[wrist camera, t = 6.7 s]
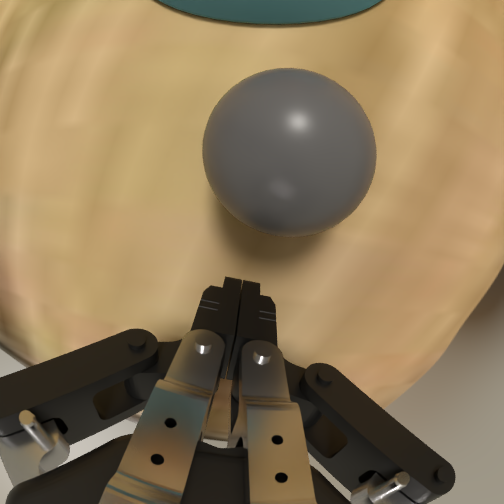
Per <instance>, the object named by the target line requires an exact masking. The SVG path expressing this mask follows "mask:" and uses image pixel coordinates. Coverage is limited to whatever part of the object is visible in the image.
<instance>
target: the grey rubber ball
mask: <svg viewBox="0 0 504 504" xmlns="http://www.w3.org/2000/svg"><path fill="white" fill-rule="evenodd" d="M203 163H204V168H205V173H206V176H207V179H208V181H209V184H210V186H211V188H212V190H213V192H214V194H215V195H216V197H217V198H218V200H219V201H220V202H221V204H222V205H223V206H224V207H225V208H226V209H227V210H228V211H229V212H230V213H231V214H232V215H233V216H234V217H235V218H237V219H238V220H239V221H241V222H242V223H244V224H246V225H247V226H249V227H251V228H253V229H256V230H258V231H261V232H264V233H267V234H271V235H275V236H282V237H302V236H309V235H313V234H316V233H320V232H322V231H325V230H327V229H330V228H332V227H334V226H335V225H337V224H339V223H340V222H341V221H343V220H344V219H345V218H347V217H348V216H349V215H350V214H351V213H352V212H353V211H354V210H355V209H356V208H357V207H358V206H359V204H360V203H361V201H362V200H363V199H364V197H365V196H366V194H367V192H368V190H369V187H370V185H371V183H372V180H373V176H374V173H375V166H376V143H375V138H374V133H373V129H372V127H371V124H370V121H369V119H368V117H367V116H366V114H365V112H364V110H363V108H362V107H361V106H360V104H359V103H358V102H357V100H356V99H355V98H354V97H353V96H352V95H351V94H350V93H349V92H348V91H347V90H346V89H344V88H343V87H342V86H340V85H339V84H338V83H336V82H335V81H333V80H331V79H329V78H328V77H326V76H323V75H321V74H318V73H316V72H312V71H308V70H304V69H296V68H278V69H272V70H266V71H263V72H260V73H257V74H254V75H252V76H250V77H248V78H246V79H244V80H242V81H241V82H239V83H238V84H236V85H235V86H234V87H232V88H231V89H230V90H229V91H228V92H227V93H226V94H225V95H224V96H223V97H222V98H221V100H220V101H219V102H218V104H217V105H216V106H215V108H214V109H213V111H212V113H211V115H210V117H209V120H208V123H207V126H206V129H205V132H204V138H203Z"/></svg>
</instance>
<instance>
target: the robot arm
mask: <svg viewBox="0 0 504 504" xmlns="http://www.w3.org/2000/svg"><path fill="white" fill-rule="evenodd" d="M241 284H242V288H241ZM228 362H229V364H228ZM227 367H228V371H227ZM226 371H227V379H229V380H232V388H231V392H230V395H229V432H228V445H227V448H217V447H214V446H212V445H209V444H207V443H204V442H203V438H204V434H205V430H206V427H207V423H208V419H209V415H210V412H211V408H212V404H213V400H214V397H215V393H216V391H217V390H218V387H219V382H220V378H223V379H225V375H226ZM142 410H144V411H143V413H142V415H141V417H140V419H139V422H138V424H137V426H136V428H135V431H134V433H133V434H128V435H124V436H120V437H118V438H115V439H113V440H111V441H109V442H107V443H105V444H103V445H102V446H100V447H98V448H96V449H94V450H92V451H91V452H88V453H86V454H84V455H82V456H80V457H78V458H76V459H74V460H72V461H70V462H68V463H66V464H64V465H62V466H59V465H60V464H62V463H63V462H65V461H66V459H67V458H68V456H69V452H70V447H69V445H72V444H74V443H76V442H78V441H80V440H83V439H85V438H87V437H89V436H92V435H94V434H96V433H98V432H100V431H102V430H104V429H106V428H108V427H110V426H112V425H114V424H116V423H118V422H120V421H122V420H124V419H126V418H128V417H130V416H132V415H134V414H136V413H138V412H140V411H142ZM307 451H308V452H309V453H310V454H311V455H312V456H313V457H314V458H315V459H316V460H317V461H318V462H319V463H320V464H321V465H322V466H323V467H324V468H325V469H326V470H327V471H328V472H329V473H330V474H331V475H332V476H333V477H335V478H336V479H337V480H338V481H339V482H340V483H341V484H342V485H343V486H344V487H346V488H347V489H348V490H349V491H350V492H351V493H352V494H351V499H350V500H351V501H349V500H347V499H346V498H345V497H344V496H343V495H342V494H341V493H340V492H339V491H338V490H337V489H336V488H335V487H334V486H333V485H332V484H331V483H330V482H329V481H328V480H327V479H326V478H325V477H324V476H323V475H322V474H321V473H320V472H319V471H318V470H316V469H315V468H314V467H313V466H311V465H310V464H309V458H308V452H307ZM0 456H1V459H2V462H3V464H4V467H5V469H6V471H7V473H8V476H9V478H10V480H11V482H12V484H13V486H14V488H13V489H12V490H11V491H10V492H9V494H8V496H7V500H6V504H427V503H429V502H431V501H433V500H435V499H436V498H438V497H440V496H442V495H444V494H446V493H447V492H449V491H450V490H451V489H452V487H453V485H454V483H455V471H454V469H453V467H452V466H451V464H450V463H449V462H447V461H446V460H445V459H444V458H442V457H441V456H440V455H438V454H437V453H436V452H435V451H433V450H432V449H431V448H430V447H428V446H427V445H426V444H424V443H423V442H422V441H421V440H420V439H419V438H417V437H416V436H415V435H414V434H412V433H411V432H410V431H409V430H407V429H406V428H405V427H404V426H403V425H401V424H400V423H399V422H398V421H396V420H395V419H394V418H393V417H392V416H390V415H389V414H388V413H387V412H386V411H385V410H383V409H382V408H381V407H380V406H379V405H378V404H376V403H375V402H374V401H373V400H372V399H371V398H369V397H368V396H367V395H366V394H365V393H364V392H362V391H361V390H360V389H359V388H358V387H357V386H355V385H354V384H353V383H352V382H351V381H350V380H349V379H347V378H346V377H345V376H344V375H343V374H342V373H341V372H339V371H338V370H337V369H336V368H334V367H333V366H331V365H328V364H325V363H315V364H312V365H310V366H308V368H307V369H304V368H302V367H299V366H296V365H294V364H292V363H290V362H288V361H287V360H285V359H284V358H283V355H282V352H281V351H280V349H279V348H278V346H277V326H276V307H275V304H274V302H273V300H272V299H271V297H268V296H263V295H260V283H256V282H251V281H246V280H243V283H242V280H241V279H235V278H230V277H226V276H225V280H224V284H223V288H221V287H216V286H212V285H211V286H209V287H208V288H207V289H206V290H204V292H203V295H202V298H201V301H200V304H199V307H198V310H197V313H196V316H195V319H194V322H193V325H192V328H191V331H190V332H188V333H187V334H186V335H185V336H184V337H183V339H181V340H178V341H174V342H158V341H157V339H156V337H155V336H154V335H153V334H152V333H150V332H148V331H146V330H143V329H129V330H126V331H124V332H121V333H118V334H116V335H113V336H111V337H108V338H106V339H103V340H101V341H98V342H95V343H93V344H90V345H88V346H85V347H83V348H80V349H77V350H75V351H72V352H69V353H67V354H64V355H61V356H59V357H56V358H53V359H51V360H48V361H45V362H42V363H40V364H37V365H34V366H31V367H29V368H26V369H23V370H20V371H17V372H15V373H12V374H9V375H6V376H4V377H1V378H0ZM58 466H59V467H58Z"/></svg>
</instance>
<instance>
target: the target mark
mask: <svg viewBox="0 0 504 504" xmlns="http://www.w3.org/2000/svg"><path fill="white" fill-rule="evenodd" d="M159 1H160V2H162V3H164V4H166V5H168V6H171V7H173V8H175V9H177V10H180V11H184V12H187V13H190V14H193V15H197V16H202V17H207V18H211V19H216V20H224V21H230V22H240V23H252V24H301V23H310V22H320V21H326V20H331V19H337V18H341V17H345V16H348V15H352V14H356V13H358V12H360V11H363V10H365V9H368V8H370V7H372V6H373V5H375V4H377V3H378V2H380V1H381V0H159Z"/></svg>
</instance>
